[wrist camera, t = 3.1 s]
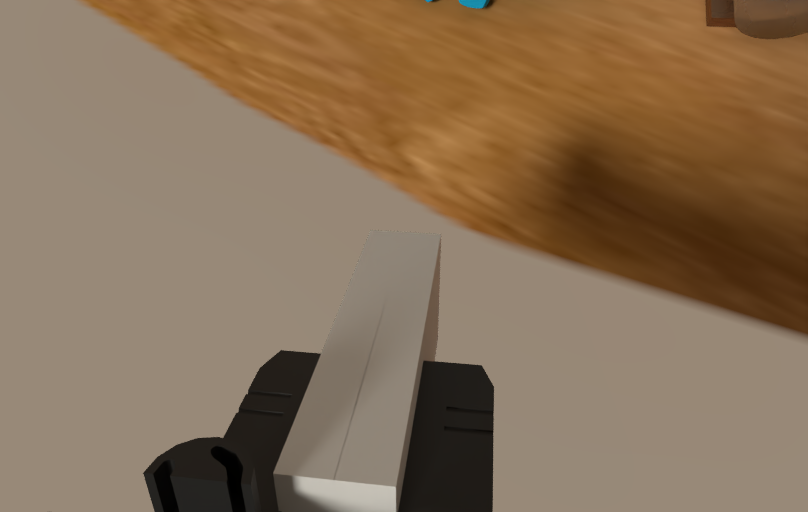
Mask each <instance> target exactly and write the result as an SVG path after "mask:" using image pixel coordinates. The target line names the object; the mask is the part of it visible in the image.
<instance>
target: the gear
mask: <svg viewBox="0 0 808 512" xmlns="http://www.w3.org/2000/svg"><path fill="white" fill-rule="evenodd" d="M425 1H427V2H430V1H433V0H425ZM459 3H461V4H462V5H464V6H467V7H472V8H484V7H486V6H487V4H488V3H489V0H459Z"/></svg>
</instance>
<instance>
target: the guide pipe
mask: <svg viewBox="0 0 808 512" xmlns="http://www.w3.org/2000/svg"><path fill="white" fill-rule="evenodd" d="M706 21H707V26H722V27H737V28H738V29H739V30H740V31H741V32H742V33H744V34H746V35H748V36H751V37H755V38H761V39H778V38H786V37H791V36H796V35H800V34H803V33H806V32H808V0H706Z"/></svg>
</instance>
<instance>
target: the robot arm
mask: <svg viewBox="0 0 808 512" xmlns="http://www.w3.org/2000/svg"><path fill="white" fill-rule="evenodd" d="M440 252H441V234H432V233H415V232H399V231H382V230H370V233H369V235H368V238H367V240H366V243H365V246H364V248H363V251H362V253H361V255H360V258H359V260H358V263H357V266H356V268H355V270H354V273H353V275H352V278H351V280H350V283H349V285H348V288H347V290H346V293H345V295H344V298H343V300H342V303H341V305H340V308H339V310H338V313H337V315H336V318H335V320H334V323H333V325H332V328H331V330H330V333H329V335H328V338H327V340H326V343H325V345H324V348H323V350H322V353H321V354H317V353H306V352H294V351H282V350H281V351H280V352H279V353H277V354H276V355H275V356H274V357H272V358H271V359H270V360H269V361H268V362H266V363H265V364H264V365H263V366H262V367H261V368H260V369H259V371H258V372H257V374H256V376H255V378H254V380H253V382H252V384H251V386H250V388H249V390H248V395H247V394H246V395H245V397H244V399H243V401H242V403H241V405H240V407H239V412H238V413H236V415H235V417H234V418H233V421H232V422H231V424H230V426H229V428H228V430H227V432H226V434H225V436H224V438H220V437H211V438H197V439H194V440H190V441H188V442H184V443H181V444H178V445H176V446H174V447H173V448H171V449H170V450H168V451H166V452H165V453H163V454H161V455H160V456H158V457H157V458H156V459H155V460H154V462H153V463H152V464H151V465H150V466H149V467H148V468H147V469H146V471H145V472H144V473H143V474H144V476H145V480H146V484H147V487H148V490H149V494H150V497H151V501H152V504H153V507H154V511H155V512H492V507H493V506H492V505H493V502H492V501H493V411H494V386H493V385H492V383H491V381H490V379H489V378H488V376H487V374H486V372H485V370H484V369H483V367H482V366H481V365H469V364H459V363H458V364H457V363H445V362H435V354H436V348H437V340H438V314H439V284H440Z"/></svg>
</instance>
